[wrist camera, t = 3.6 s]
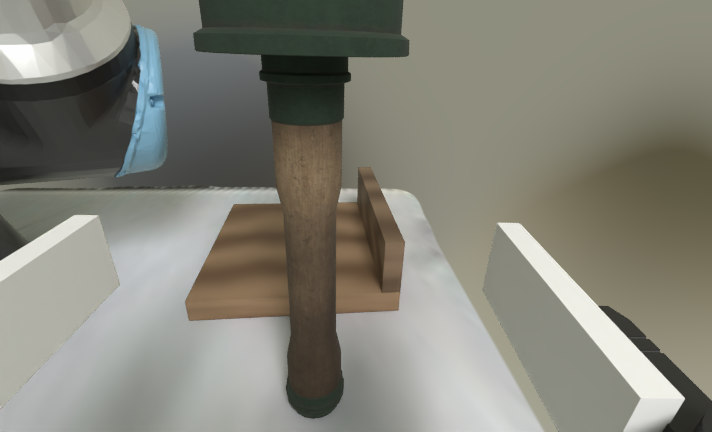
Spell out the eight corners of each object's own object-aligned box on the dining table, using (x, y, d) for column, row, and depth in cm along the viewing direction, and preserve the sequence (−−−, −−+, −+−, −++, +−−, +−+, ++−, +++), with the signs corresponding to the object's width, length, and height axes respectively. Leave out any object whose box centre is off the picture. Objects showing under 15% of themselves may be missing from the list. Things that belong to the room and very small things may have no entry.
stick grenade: (221, 406, 23) (86, -287, 11) (315, 333, 30) (301, -162, 17) (315, 501, 19) (276, -541, 6) (404, 390, 25) (479, -237, 12)
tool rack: (398, 310, 32) (404, 242, 29) (189, 320, 30) (173, 248, 27) (368, 215, 50) (370, 167, 47) (235, 218, 48) (229, 167, 45)
